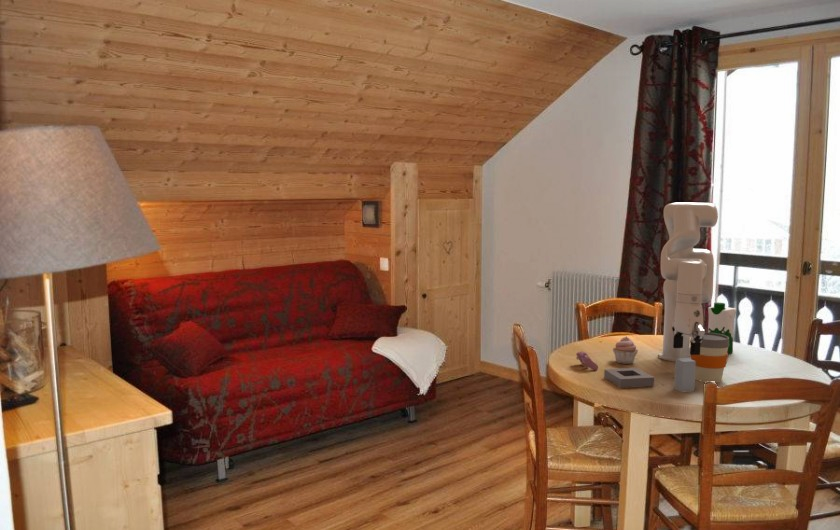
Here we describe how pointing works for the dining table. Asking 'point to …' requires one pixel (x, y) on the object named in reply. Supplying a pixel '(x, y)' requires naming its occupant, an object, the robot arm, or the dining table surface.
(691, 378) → the plug
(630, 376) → the socket
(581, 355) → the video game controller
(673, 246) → the robot arm
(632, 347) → the cupcake
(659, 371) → the dining table surface
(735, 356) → the dining table surface
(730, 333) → the milk carton
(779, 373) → the dining table surface
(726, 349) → the reusable coffee cup
